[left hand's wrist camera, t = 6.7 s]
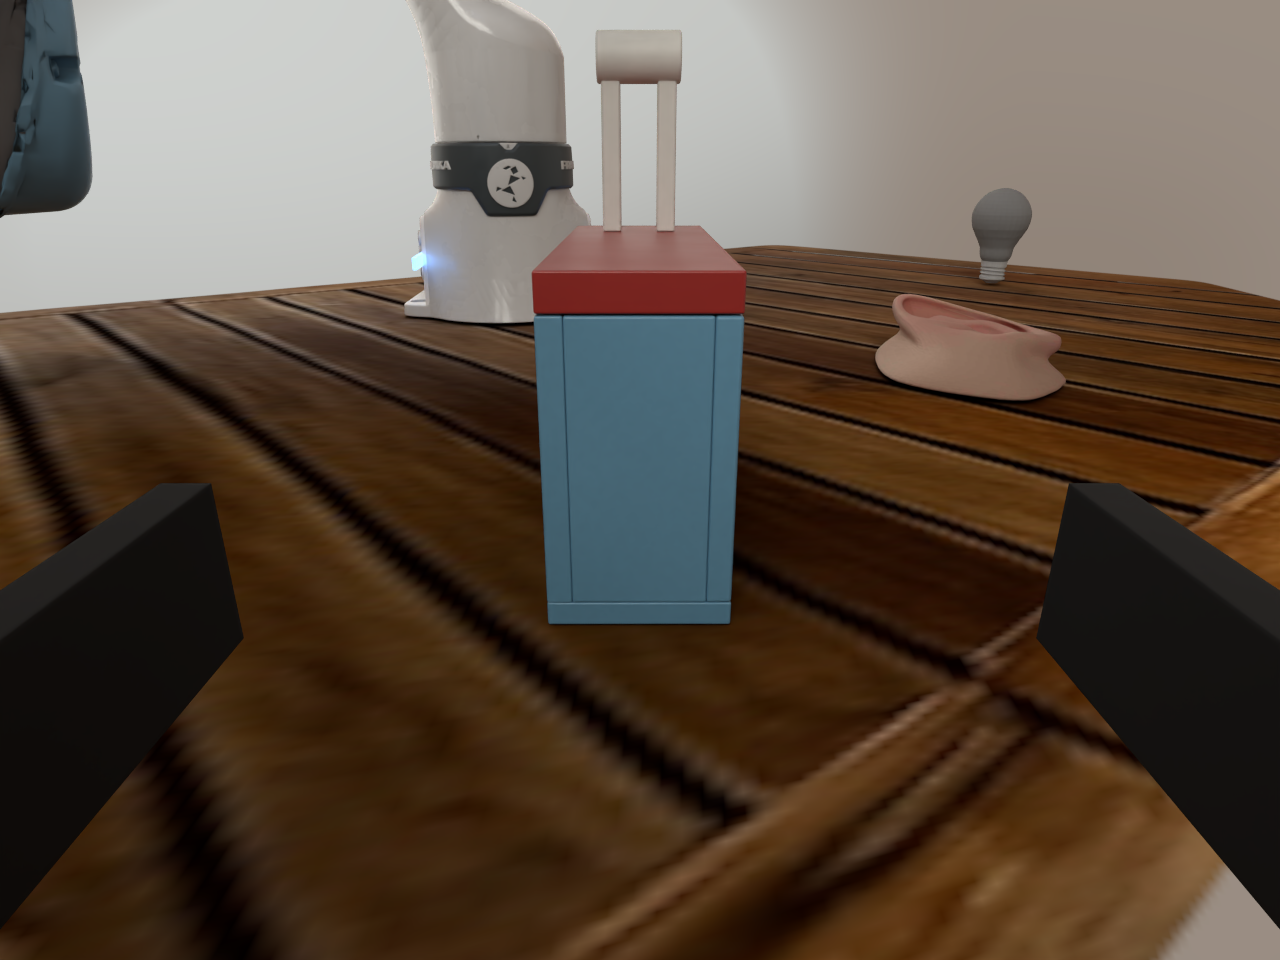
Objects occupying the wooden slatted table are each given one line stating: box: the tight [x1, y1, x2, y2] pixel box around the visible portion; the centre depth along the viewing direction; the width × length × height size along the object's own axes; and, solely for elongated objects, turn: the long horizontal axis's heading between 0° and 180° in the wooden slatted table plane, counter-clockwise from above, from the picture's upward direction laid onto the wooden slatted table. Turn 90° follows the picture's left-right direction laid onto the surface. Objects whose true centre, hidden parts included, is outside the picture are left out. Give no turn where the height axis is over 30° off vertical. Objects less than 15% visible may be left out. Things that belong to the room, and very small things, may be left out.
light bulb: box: [972, 188, 1032, 283], centre depth 88 cm, size 6×6×10 cm
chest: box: [534, 314, 744, 624], centre depth 29 cm, size 15×5×9 cm, turn 0°
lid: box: [532, 30, 747, 314], centre depth 26 cm, size 16×5×8 cm, turn 0°
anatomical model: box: [875, 294, 1066, 401], centre depth 51 cm, size 13×4×12 cm
